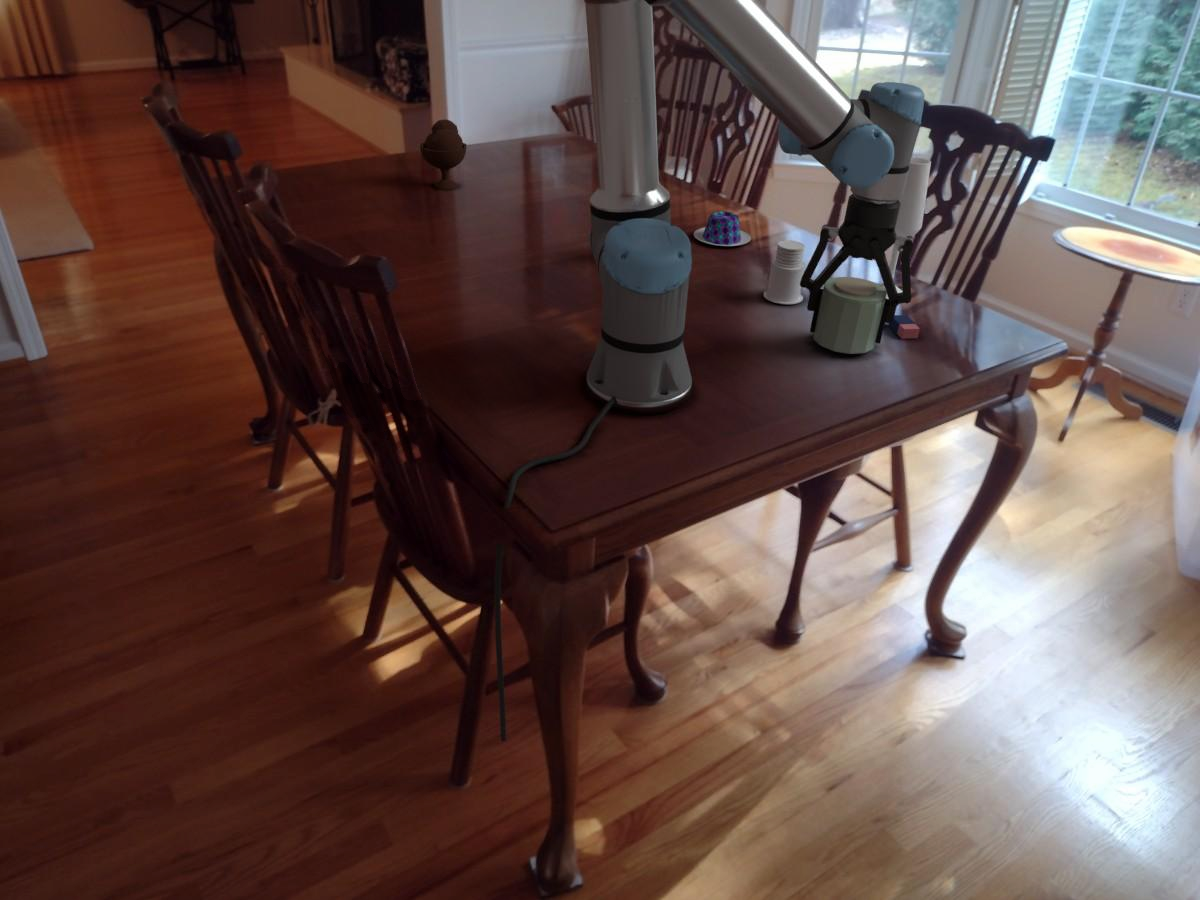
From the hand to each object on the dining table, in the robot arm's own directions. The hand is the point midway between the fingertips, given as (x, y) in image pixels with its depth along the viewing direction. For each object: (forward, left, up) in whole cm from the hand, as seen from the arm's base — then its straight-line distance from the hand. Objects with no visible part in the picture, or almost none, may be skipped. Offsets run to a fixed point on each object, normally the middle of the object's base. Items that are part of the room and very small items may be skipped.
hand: (845, 334), depth 140 cm
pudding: (+43, +28, -2) cm, 51 cm away
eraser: (+9, -9, -2) cm, 13 cm away
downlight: (+16, +12, -2) cm, 20 cm away
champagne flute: (+26, -6, -2) cm, 27 cm away
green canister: (0, 0, -1) cm, 1 cm away
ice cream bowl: (+55, +97, -2) cm, 111 cm away
